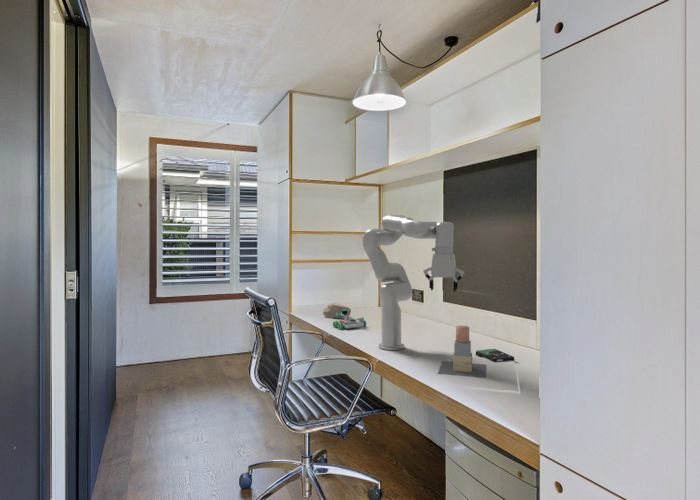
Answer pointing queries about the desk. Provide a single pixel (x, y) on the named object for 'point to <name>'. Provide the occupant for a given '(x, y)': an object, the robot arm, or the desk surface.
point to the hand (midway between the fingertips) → (443, 290)
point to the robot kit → (348, 321)
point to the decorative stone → (335, 310)
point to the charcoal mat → (477, 371)
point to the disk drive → (494, 355)
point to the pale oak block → (462, 363)
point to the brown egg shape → (462, 334)
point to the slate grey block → (462, 349)
